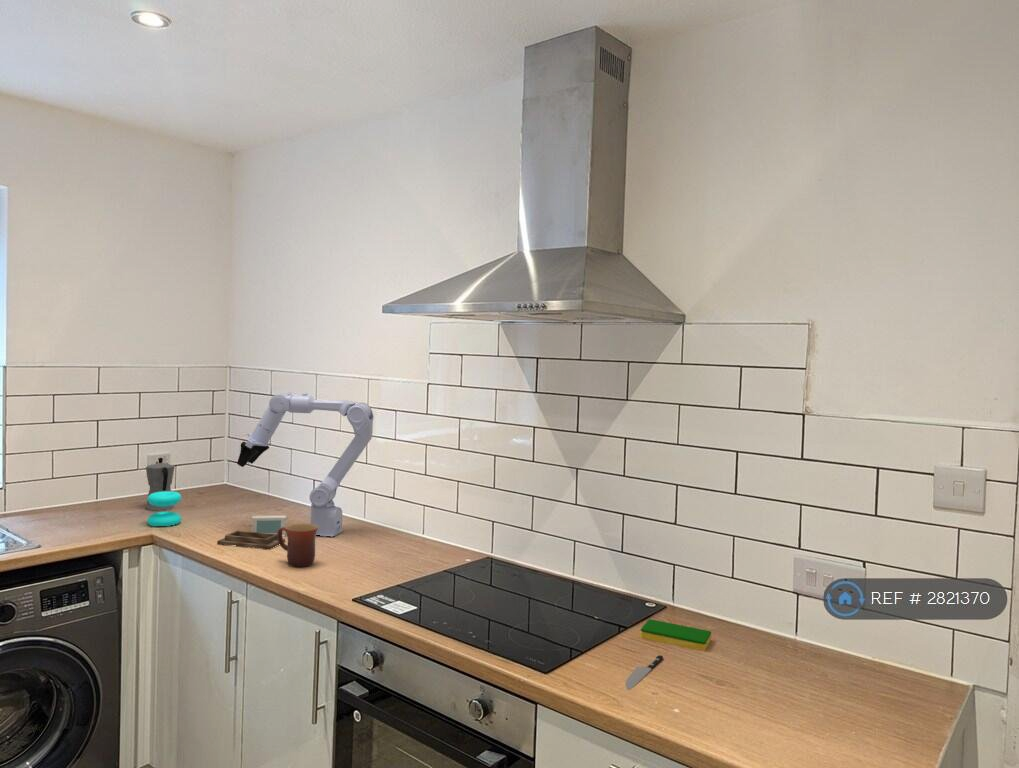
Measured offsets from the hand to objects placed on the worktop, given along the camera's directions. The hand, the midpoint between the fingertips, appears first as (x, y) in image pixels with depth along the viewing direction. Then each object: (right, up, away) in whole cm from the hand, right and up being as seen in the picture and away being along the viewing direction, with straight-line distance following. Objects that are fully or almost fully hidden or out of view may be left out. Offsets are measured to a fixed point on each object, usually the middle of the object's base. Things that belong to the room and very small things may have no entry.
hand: (244, 463), depth 237 cm
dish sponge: (+120, -31, -75) cm, 145 cm away
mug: (+25, -24, -32) cm, 47 cm away
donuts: (-28, -20, +5) cm, 35 cm away
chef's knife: (+109, -31, -94) cm, 147 cm away
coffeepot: (-39, -19, +26) cm, 50 cm away
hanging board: (+7, -22, -14) cm, 27 cm away
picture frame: (+9, -22, -4) cm, 24 cm away
